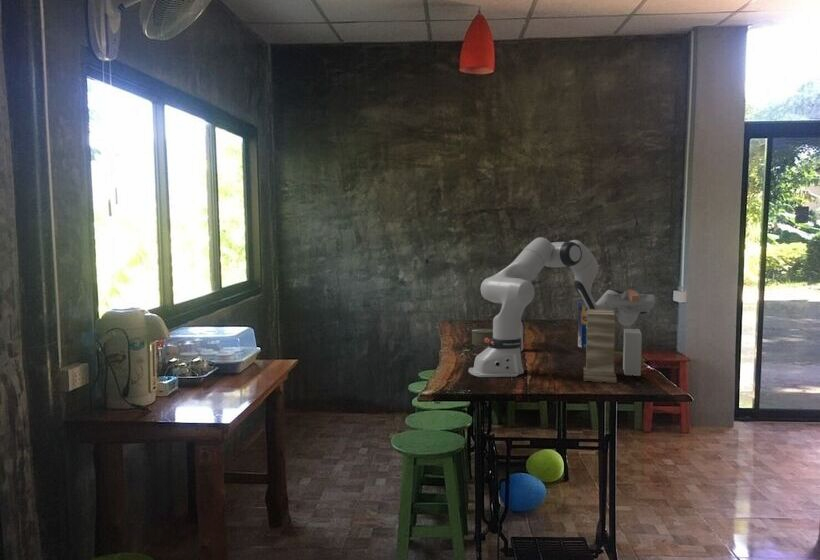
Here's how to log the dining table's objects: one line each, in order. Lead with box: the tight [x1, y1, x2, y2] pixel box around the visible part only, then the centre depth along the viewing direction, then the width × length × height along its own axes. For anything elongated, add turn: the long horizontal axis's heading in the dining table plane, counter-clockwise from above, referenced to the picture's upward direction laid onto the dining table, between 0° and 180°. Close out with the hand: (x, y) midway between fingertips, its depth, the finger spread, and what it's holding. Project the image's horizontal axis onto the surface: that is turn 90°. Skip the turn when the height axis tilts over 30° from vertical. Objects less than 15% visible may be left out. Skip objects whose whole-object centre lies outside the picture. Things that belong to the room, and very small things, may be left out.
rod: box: [627, 289, 639, 302], centre depth 260 cm, size 25×2×2 cm, turn 165°
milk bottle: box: [520, 321, 524, 352], centre depth 307 cm, size 8×8×20 cm
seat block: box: [622, 328, 643, 377], centre depth 259 cm, size 12×6×17 cm, turn 165°
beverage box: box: [577, 301, 597, 349], centre depth 315 cm, size 7×11×22 cm, turn 90°
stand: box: [582, 309, 617, 384], centre depth 251 cm, size 18×12×26 cm, turn 165°
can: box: [471, 328, 493, 347], centre depth 326 cm, size 12×12×7 cm
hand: (631, 293), depth 268 cm, fingers closed on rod, 2 cm apart
